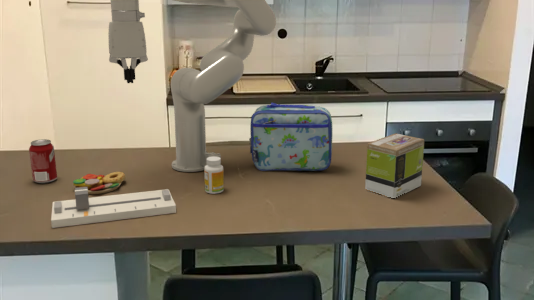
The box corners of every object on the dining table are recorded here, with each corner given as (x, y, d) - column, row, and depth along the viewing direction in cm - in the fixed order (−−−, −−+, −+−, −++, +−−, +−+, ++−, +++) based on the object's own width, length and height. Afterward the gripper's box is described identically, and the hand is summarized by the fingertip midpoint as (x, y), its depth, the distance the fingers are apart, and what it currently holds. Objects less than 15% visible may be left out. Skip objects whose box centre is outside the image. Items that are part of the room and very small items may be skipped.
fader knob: (88, 201, 139) (87, 186, 138) (89, 208, 135) (87, 193, 133) (76, 202, 138) (74, 187, 137) (76, 209, 134) (74, 194, 132)
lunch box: (248, 171, 169) (247, 106, 163) (252, 161, 180) (252, 99, 173) (331, 175, 167) (334, 109, 161) (330, 164, 177) (333, 102, 171)
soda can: (49, 185, 156) (44, 145, 153) (28, 183, 158) (23, 144, 154) (62, 177, 163) (57, 139, 159) (41, 175, 164) (37, 138, 160)
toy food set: (130, 181, 161) (129, 171, 160) (111, 198, 149) (110, 187, 148) (89, 178, 163) (88, 168, 162) (66, 194, 151) (65, 183, 150)
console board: (168, 195, 150) (168, 184, 149) (176, 212, 139) (175, 200, 138) (53, 208, 140) (52, 196, 139) (51, 228, 129) (50, 214, 128)
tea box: (392, 178, 165) (396, 131, 161) (421, 186, 158) (426, 138, 154) (363, 190, 155) (366, 141, 151) (393, 200, 148) (397, 149, 144)
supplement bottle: (226, 188, 155) (226, 156, 152) (219, 195, 150) (218, 162, 148) (209, 186, 157) (209, 154, 154) (201, 192, 152) (200, 160, 149)
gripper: (151, 16, 155) (154, 79, 161) (97, 16, 151) (102, 81, 156) (154, 17, 149) (158, 83, 154) (98, 18, 144) (103, 86, 149)
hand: (130, 82), depth 155 cm, fingers closed
